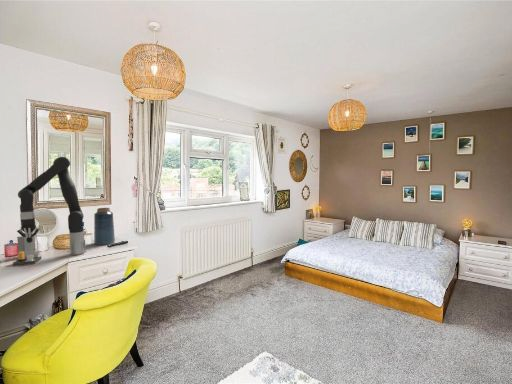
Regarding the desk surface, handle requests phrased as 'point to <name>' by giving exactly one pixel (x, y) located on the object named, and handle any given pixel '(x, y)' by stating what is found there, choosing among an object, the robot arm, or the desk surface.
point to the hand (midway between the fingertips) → (29, 242)
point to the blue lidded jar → (103, 227)
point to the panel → (29, 259)
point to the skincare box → (26, 245)
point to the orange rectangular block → (21, 256)
